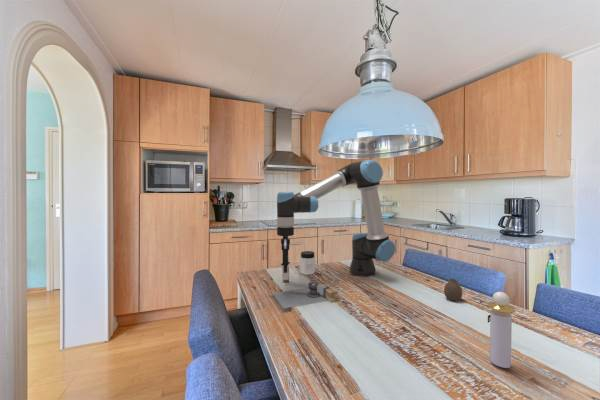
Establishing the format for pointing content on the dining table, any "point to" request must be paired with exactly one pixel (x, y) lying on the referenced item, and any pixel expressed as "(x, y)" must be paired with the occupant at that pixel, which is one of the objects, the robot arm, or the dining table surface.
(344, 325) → the dining table surface
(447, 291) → the brown egg shape
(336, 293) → the block
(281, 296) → the base
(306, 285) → the lever
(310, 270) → the jar
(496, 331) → the perfume bottle
